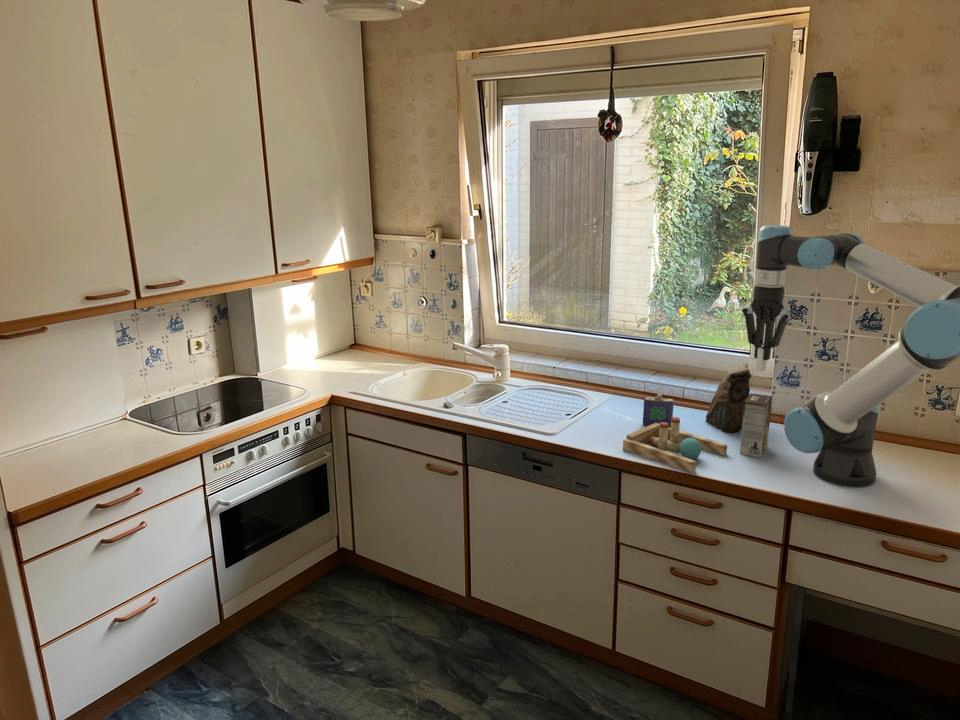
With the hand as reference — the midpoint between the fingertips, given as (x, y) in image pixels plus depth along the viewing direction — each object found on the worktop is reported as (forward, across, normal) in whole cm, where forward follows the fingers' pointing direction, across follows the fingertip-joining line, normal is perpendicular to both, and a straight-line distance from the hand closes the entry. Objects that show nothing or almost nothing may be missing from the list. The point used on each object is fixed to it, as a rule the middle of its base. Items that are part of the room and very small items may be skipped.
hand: (760, 370), depth 199 cm
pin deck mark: (+26, -18, -10) cm, 34 cm away
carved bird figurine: (+27, -19, +20) cm, 38 cm away
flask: (+27, -34, +4) cm, 43 cm away
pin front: (+25, -17, -10) cm, 32 cm away
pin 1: (+26, -20, -14) cm, 36 cm away
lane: (+26, -18, -10) cm, 34 cm away
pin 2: (+26, -20, -8) cm, 34 cm away
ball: (+23, -13, -11) cm, 29 cm away
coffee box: (+27, -3, +7) cm, 28 cm away
